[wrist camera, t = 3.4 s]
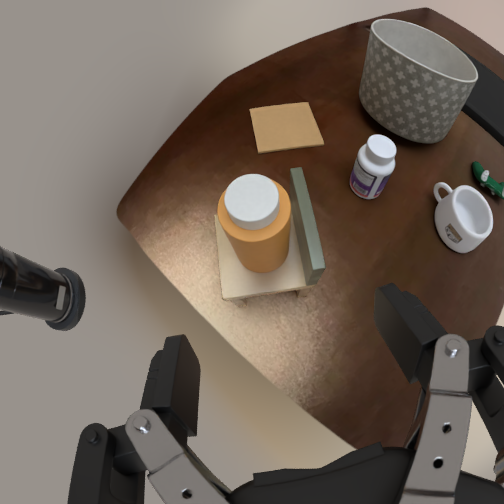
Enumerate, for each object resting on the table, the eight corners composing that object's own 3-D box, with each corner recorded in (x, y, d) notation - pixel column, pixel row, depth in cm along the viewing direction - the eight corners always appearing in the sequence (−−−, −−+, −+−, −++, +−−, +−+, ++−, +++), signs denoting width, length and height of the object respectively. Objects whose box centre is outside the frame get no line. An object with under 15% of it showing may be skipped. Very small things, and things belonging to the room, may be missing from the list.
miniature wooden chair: (238, 310, 35) (205, 286, 20) (230, 246, 38) (198, 184, 23) (307, 300, 35) (325, 267, 20) (295, 235, 38) (301, 167, 23)
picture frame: (520, 102, 44) (445, 45, 54) (522, 98, 42) (447, 40, 52) (519, 162, 38) (416, 79, 47) (524, 157, 35) (418, 72, 45)
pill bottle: (376, 170, 40) (393, 130, 31) (385, 199, 38) (407, 162, 29) (345, 171, 40) (357, 130, 31) (353, 201, 39) (369, 162, 29)
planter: (373, 77, 48) (387, 11, 31) (448, 118, 43) (477, 58, 25) (340, 118, 44) (354, 35, 27) (432, 171, 39) (478, 100, 22)
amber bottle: (239, 276, 26) (215, 239, 17) (233, 227, 28) (209, 171, 19) (293, 268, 26) (298, 226, 17) (284, 219, 28) (283, 159, 18)
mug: (483, 231, 34) (502, 217, 29) (459, 266, 33) (481, 254, 28) (440, 180, 38) (455, 161, 32) (412, 209, 37) (428, 190, 31)
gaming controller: (466, 175, 40) (474, 179, 35) (473, 159, 38) (482, 161, 33) (497, 199, 38) (508, 205, 33) (504, 183, 36) (515, 188, 31)
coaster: (258, 154, 43) (258, 152, 42) (249, 110, 47) (249, 109, 46) (324, 145, 42) (324, 143, 42) (307, 103, 46) (307, 102, 45)
